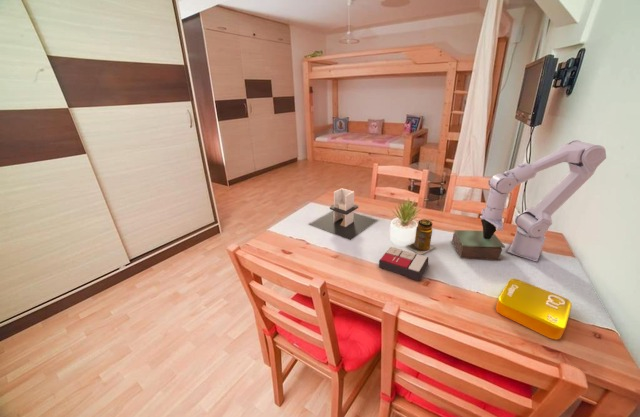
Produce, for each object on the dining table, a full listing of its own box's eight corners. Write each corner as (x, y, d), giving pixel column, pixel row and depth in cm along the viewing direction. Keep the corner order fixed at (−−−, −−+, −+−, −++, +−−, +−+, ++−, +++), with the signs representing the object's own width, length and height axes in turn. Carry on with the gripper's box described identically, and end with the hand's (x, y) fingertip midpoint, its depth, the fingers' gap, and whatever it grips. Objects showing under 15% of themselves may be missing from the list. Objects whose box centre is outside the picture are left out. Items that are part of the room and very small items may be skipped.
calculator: (390, 245, 105) (429, 255, 96) (389, 254, 107) (428, 265, 98) (378, 259, 97) (420, 271, 88) (378, 268, 99) (419, 281, 90)
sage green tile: (491, 232, 107) (491, 230, 107) (504, 247, 97) (505, 246, 97) (453, 231, 110) (454, 230, 110) (462, 246, 100) (463, 245, 99)
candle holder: (309, 224, 132) (307, 194, 125) (338, 208, 148) (337, 180, 142) (350, 240, 117) (350, 206, 110) (377, 220, 133) (379, 190, 127)
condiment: (433, 248, 108) (438, 222, 104) (420, 255, 104) (424, 228, 99) (419, 240, 114) (422, 216, 109) (406, 247, 110) (409, 221, 105)
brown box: (486, 244, 110) (489, 233, 108) (498, 260, 100) (502, 248, 97) (451, 242, 112) (453, 231, 110) (460, 258, 102) (462, 246, 100)
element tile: (507, 286, 87) (511, 275, 85) (567, 311, 76) (573, 298, 74) (493, 311, 77) (497, 299, 75) (559, 343, 67) (565, 330, 65)
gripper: (476, 198, 104) (469, 228, 110) (491, 214, 91) (482, 247, 97) (495, 199, 103) (487, 229, 109) (514, 215, 90) (503, 248, 96)
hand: (486, 237), depth 103 cm, fingers closed
